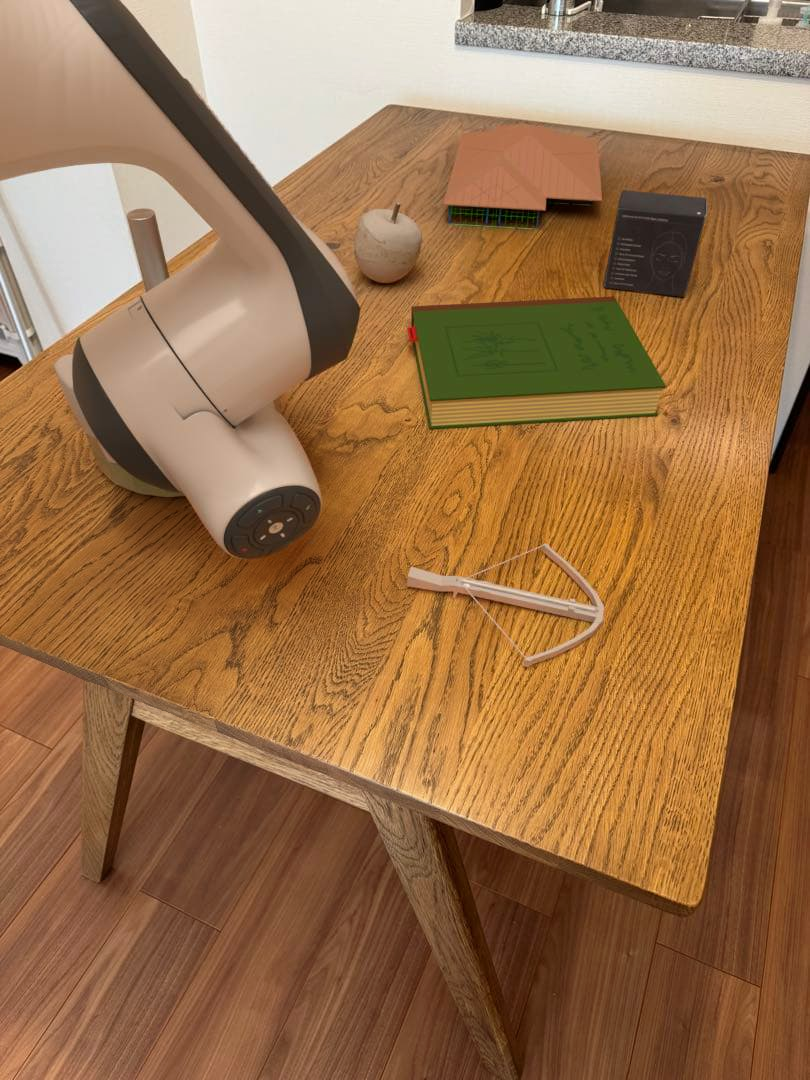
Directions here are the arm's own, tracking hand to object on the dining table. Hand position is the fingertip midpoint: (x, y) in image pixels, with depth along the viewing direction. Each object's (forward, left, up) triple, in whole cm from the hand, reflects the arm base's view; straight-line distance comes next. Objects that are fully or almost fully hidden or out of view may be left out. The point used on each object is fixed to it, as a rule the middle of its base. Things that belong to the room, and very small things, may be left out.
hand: (165, 321), depth 70 cm
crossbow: (+7, -36, -14) cm, 39 cm away
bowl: (0, 0, -13) cm, 13 cm away
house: (+75, +20, -13) cm, 79 cm away
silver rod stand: (0, -1, -12) cm, 12 cm away
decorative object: (+38, +12, -14) cm, 42 cm away
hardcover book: (+34, -15, -14) cm, 39 cm away
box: (+62, -12, -14) cm, 64 cm away
